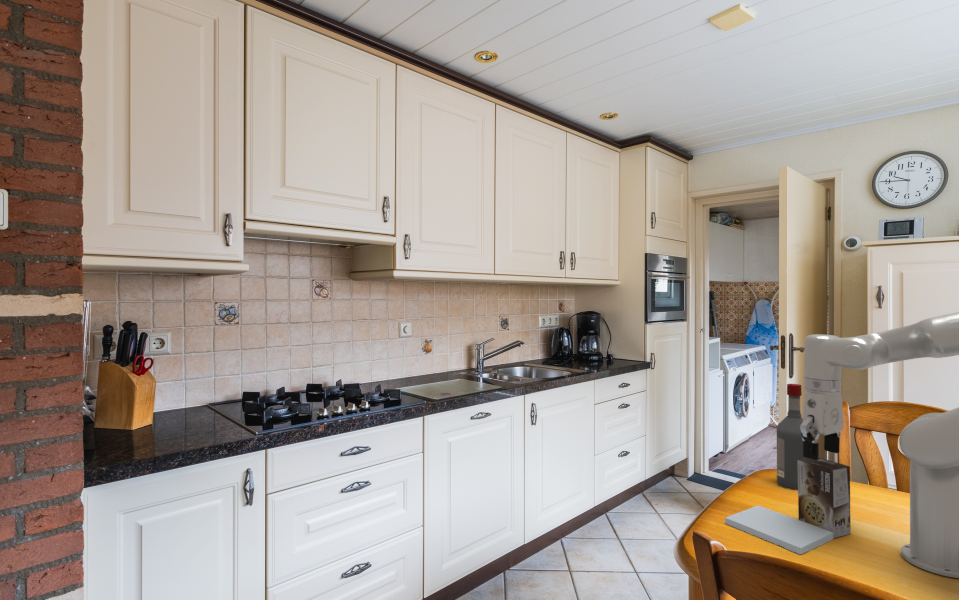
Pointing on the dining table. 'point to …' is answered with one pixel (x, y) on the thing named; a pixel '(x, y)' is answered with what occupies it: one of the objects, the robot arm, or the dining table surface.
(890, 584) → the dining table surface
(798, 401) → the liquor
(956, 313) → the robot arm
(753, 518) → the chopping board
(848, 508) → the coffee box
